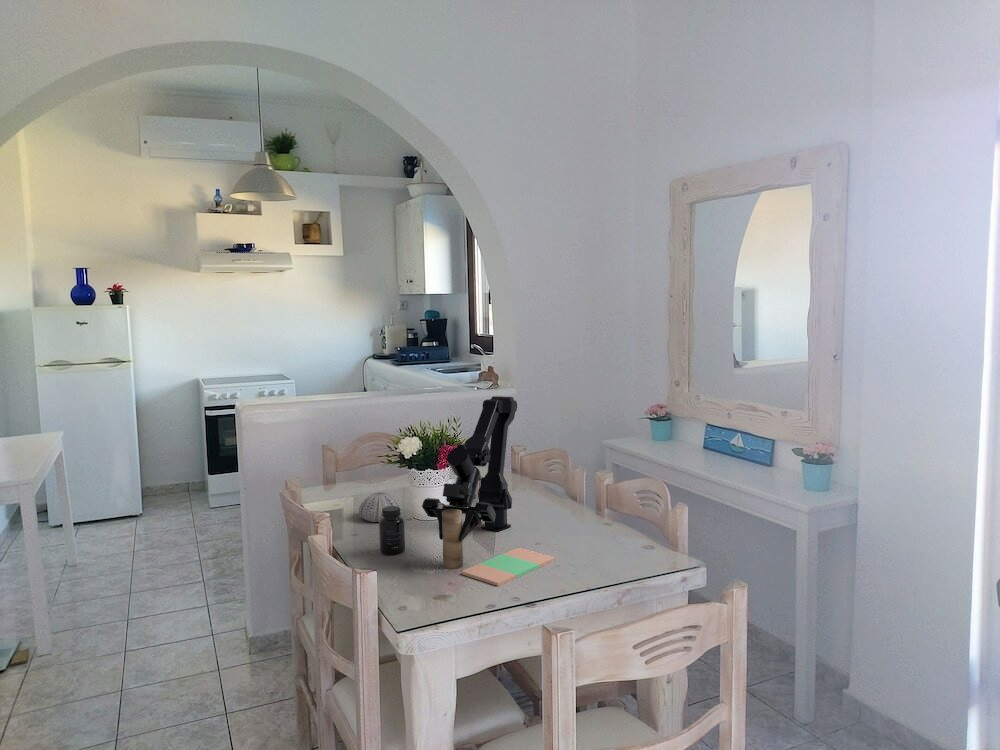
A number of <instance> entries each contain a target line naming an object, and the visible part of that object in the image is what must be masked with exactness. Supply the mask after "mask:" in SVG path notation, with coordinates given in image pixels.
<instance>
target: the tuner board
mask: <svg viewBox="0 0 1000 750" xmlns="http://www.w3.org/2000/svg"><path fill="white" fill-rule="evenodd" d="M555 560H556V557H554V556H552V555H549V554H544V553H541V552H540V553H539V552H538V551H537V552H536V551H532V550H529V549H525V548H521V547H518V548H515V549H512V550H510V551H507V552H505V553H503V554H500V555H498V556H496V557H495V556H494V557H492V558H490V559H488V560H485V561H483V562H480V563H478V564H475V565H474V566H471V567H469V568H468V567H467V568H466V569H464V570H461V575H462V576H463V575H464V576H466V577H469V578H472V579H474V580H475V579H476V580H477V581H481V582H484V583H488V584H491V585H494V586H497V587H500V586H502V585H504V584H507V583H508V582H509V583H510V582H511V581H512V580H515V579H517V578H519V577H522V576H525V575H526V574H528V573H531V572H532V571H535V570H537V569H539V568H541V567H543V566H545V565H548V564H550V563H552V562H555Z"/></svg>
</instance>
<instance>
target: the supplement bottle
mask: <svg viewBox="0 0 1000 750" xmlns="http://www.w3.org/2000/svg"><path fill="white" fill-rule="evenodd" d="M401 515H402V511H401V512H400V507H397V506H388V507H384V508H383V509H382V516H383V518H381V519H380V521H379V522H378V534H379V536H378V537H379V538H378V539H379V552H380V553H381V555H384V556H391V557H392V556H398V555H400V554H403V553H404V552H405V551H406V531H405V530H406V528H405V519H404V518H403V517H402V516H401Z"/></svg>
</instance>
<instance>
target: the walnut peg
mask: <svg viewBox="0 0 1000 750" xmlns="http://www.w3.org/2000/svg"><path fill="white" fill-rule="evenodd" d="M462 527H463V514H462V511H461V510H459V509H447V510H444V511H442V536H443V539H442V563H443V565H442V567H443V568H444V569H448V570H456V569H460V568H462V567H463V566H464V556H463V555H464V553H463V551H464V550H463V549H464V547H463V541H462V542H460V541H459V537H460V533H461V530H462Z"/></svg>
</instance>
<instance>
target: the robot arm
mask: <svg viewBox="0 0 1000 750" xmlns="http://www.w3.org/2000/svg"><path fill="white" fill-rule="evenodd" d="M481 409H482V410H481V413H480V415H479V417H478V421H477V422H476V424H475V425H476V426H475V428H474V431H473V434H472V436H471V437H469V438H468V439H466V440H465V442H464V444H463V443H458V444H457V447H455V448H452V449H451V450H449V452H448V453H447V454H446V461H447V463H448V464H449V467H450V468H451V470H452V472H453V474H454V475H455V476H457V477H456V481H455V483H444V484H443V490H442V491H443V492H442V497H445V500H446V502H447V503H448V504H445V503H442V502H441V501H440V499H439V498H434V497H433V498H430V497H426V498H425V499H424V500H423V502H422V503H421V504H422V505H421V507H422V509H423V511H424V512H425V514H426V516H428V517H429V518H437V522H438V537H439V540H442V541H443V536H442V511H444V510H447V509H459V510H461V511H462V515H463V514H464V515H465V516H464V520H463V521H464V522H463V523H462V530H461V533H460V537H459V541H460V542H462V543H463V542H464V540H465V538H466V537H467V536H468V535H469V534H470V533H471V532H472V531H473V530H474V529H475V528H476V527H477V526H478V525H481V527H480V528H482V529H486V530H489V531H493V532H500V531H503V530H505V529H508V528H510V527H512V524H510V523H509V524H508V510H511V509H512V507H513V505H512V504H513V497H512V496H511V493H510V491H509V489H508V488H509V486H508V485H509V484H508V482H507V480H506V477H505V476H504V471H505V461H506V451H507V450H506V449H507V440H508V430H509V426H510V425H511V424H512V423H513V421H514V419H515V415H516V412H517V411H518V401H517V400H515V399H514V397H513V396H501V395H500V396H498V395H496V396H494V395H493V396H491V398H489V399H485V400H483V402H482V408H481ZM489 443H490V445H489ZM487 464H488V465H487ZM486 466H487V473H486V474H485V475H484V477H482V476H481V471H480V469H479V468H478V467H486ZM479 481H480V482H479ZM479 483H480V484H479ZM478 484H479V487H478ZM477 487H478V491H477ZM476 491H477V495H476ZM476 498H478V502H476V503H475V506H473V502H474V500H476ZM482 523H484V524H482Z"/></svg>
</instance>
